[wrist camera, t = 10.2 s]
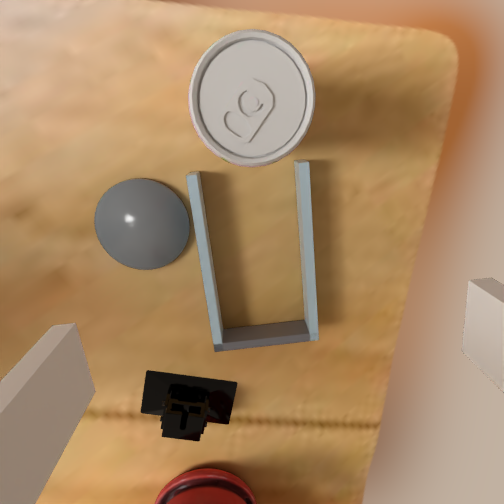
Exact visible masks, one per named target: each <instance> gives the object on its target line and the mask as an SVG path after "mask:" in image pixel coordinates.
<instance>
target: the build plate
mask: <svg viewBox="0 0 504 504" xmlns="http://www.w3.org/2000/svg"><path fill="white" fill-rule="evenodd" d="M236 388H237V382H232V381H225V380H217V379H210V378H202V377H195V376H187V375H180V374H172V373H164V372H157V371H149V370H147V371H146V377H145V384H144V392H143V399H142V406H141V413H145V414H152V415H160V416H161V419H160V421H162V424H161V429H163V432H162V437H167V438H175V439H184V440H192V441H200V436H201V434H203V432H204V427H207V422H212V423H219V424H229V421H230V416H231V411H232V407H233V402H234V397H235V393H236Z"/></svg>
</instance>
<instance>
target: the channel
mask: <svg viewBox="0 0 504 504" xmlns="http://www.w3.org/2000/svg"><path fill="white" fill-rule="evenodd" d="M294 167H295V181H296V196H297V211H298V226H299V241H300V255H301V270H302V285H303V300H304V314H305V320H299V321H290V322H281V323H273V324H264V325H255V326H247V327H238V328H229V329H223V324H222V318H221V311H220V304H219V298H218V291H217V284H216V278H215V271H214V265H213V258H212V251H211V245H210V238H209V231H208V225H207V218H206V211H205V205H204V198H203V192H202V185H201V178H200V172H199V171H196V172H190V173H189V174H188V175H186V179H187V185H188V191H189V197H190V203H191V209H192V215H193V222H194V228H195V234H196V240H197V246H198V252H199V258H200V264H201V271H202V277H203V283H204V289H205V295H206V301H207V307H208V314H209V320H210V326H211V332H212V338H213V344H214V350H215V352H219V351H228V350H236V349H245V348H254V347H262V346H271V345H280V344H289V343H297V342H306V341H315V340H319V333H318V315H317V297H316V279H315V260H314V242H313V224H312V206H311V187H310V169H309V162H308V161H306V160H304V159H302V160H294Z"/></svg>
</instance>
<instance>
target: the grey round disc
mask: <svg viewBox="0 0 504 504" xmlns="http://www.w3.org/2000/svg"><path fill="white" fill-rule="evenodd" d="M94 220H95V230H96V234H97V237H98V239H99V241H100V243H101V245H102V246H103V248H104V249H105V250H106V252H107V253H108V254H109V255H110V256H111V257H113V258H114V259H115V260H117V261H118V262H120V263H122V264H124V265H126V266H128V267H131V268H135V269H143V270H149V269H156V268H160V267H163V266H165V265H167V264H169V263H170V262H172V261H173V260H175V259H176V258H177V257H178V256H179V255H180V254H181V252H182V251H183V249H184V247H185V245H186V243H187V240H188V237H189V232H190V221H189V216H188V212H187V210H186V207H185V205H184V204H183V202H182V200H181V199H180V198H179V196H178V195H177V194H176V193H175V192H174V191H172V190H171V189H170V188H169V187H167V186H166V185H164V184H162V183H160V182H157V181H154V180H150V179H143V178H135V179H129V180H126V181H123V182H120V183H118V184H116V185H114V186H113V187H111V188H110V189H109V190H108V191H107V192H106V193H105V194H104V195H103V196H102V198H101V199H100V201H99V203H98V205H97V208H96V212H95V219H94Z"/></svg>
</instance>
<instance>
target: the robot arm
mask: <svg viewBox="0 0 504 504" xmlns="http://www.w3.org/2000/svg"><path fill="white" fill-rule="evenodd" d="M462 352H463V353H464V354H465V355H466V356H467V357H468V358H469V359H470V360H471V361H472V362H473V363H474V364H475V365H476V366H477V367H478V368H479V369H480V370H481V371H482V372H483V373H484V374H485V375H486V376H487V377H488V378H489V379H490V380H491V381H492V382H493V383H494V384H495V385H496V386H497V387H498V388H499V389H500V390H501V391H502V392H503V393H504V285H503V284H501V283H500V282H498V281H496V280H495V279H493V278H484V279H476V280H469V281H468V292H467V302H466V312H465V322H464V332H463V343H462ZM95 392H96V391H95V388H94V384H93V381H92V377H91V374H90V370H89V367H88V363H87V360H86V357H85V353H84V350H83V346H82V343H81V339H80V336H79V332H78V329H77V326H76V323H70V324H61V325H52V327H51V328H50V329H49V330H48V331H47V332H46V333H45V334H44V335H43V336H42V337H41V338H40V339H39V340H38V341H37V343H36V344H35V345H34V346H33V347H32V348H31V349H30V350H29V351H28V352H27V353H26V354H25V355H24V356H23V358H22V359H21V360H20V361H19V362H18V363H17V364H16V365H15V366H14V367H13V368H12V369H11V370H10V371H9V372H8V374H7V375H6V376H5V377H4V378H3V379H2V380H1V381H0V504H35V503H36V501H37V500H38V498H39V496H40V494H41V492H42V490H43V488H44V487H45V485H46V483H47V481H48V479H49V477H50V475H51V474H52V472H53V470H54V468H55V466H56V464H57V462H58V460H59V459H60V457H61V455H62V453H63V451H64V449H65V447H66V446H67V444H68V442H69V440H70V438H71V436H72V434H73V433H74V431H75V429H76V427H77V425H78V423H79V421H80V420H81V418H82V416H83V414H84V412H85V410H86V408H87V406H88V405H89V403H90V401H91V399H92V397H93V395H94V393H95Z"/></svg>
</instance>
